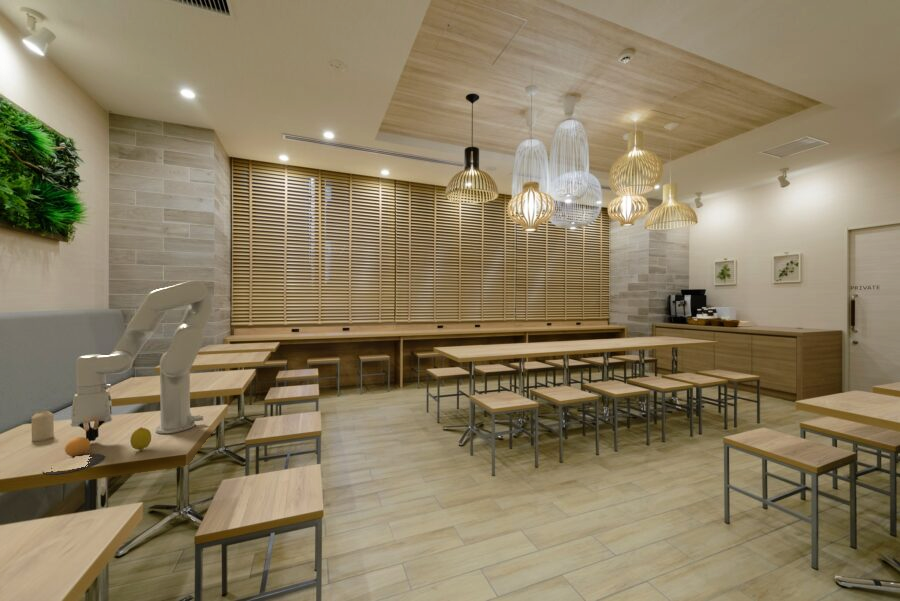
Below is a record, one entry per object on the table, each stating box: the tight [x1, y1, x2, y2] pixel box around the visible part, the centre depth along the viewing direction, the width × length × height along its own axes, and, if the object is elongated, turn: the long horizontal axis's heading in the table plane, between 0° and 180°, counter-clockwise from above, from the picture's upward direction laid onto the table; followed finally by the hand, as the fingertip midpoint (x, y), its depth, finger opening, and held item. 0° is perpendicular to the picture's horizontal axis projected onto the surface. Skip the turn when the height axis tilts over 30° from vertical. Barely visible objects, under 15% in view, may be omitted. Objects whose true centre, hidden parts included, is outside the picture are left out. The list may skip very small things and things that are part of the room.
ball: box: [64, 436, 91, 457], centre depth 123 cm, size 6×6×6 cm
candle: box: [30, 410, 55, 442], centre depth 138 cm, size 6×6×10 cm
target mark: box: [44, 453, 106, 476], centre depth 118 cm, size 14×14×1 cm
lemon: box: [129, 426, 152, 452], centre depth 128 cm, size 6×6×8 cm
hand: (92, 439), depth 134 cm, fingers closed
